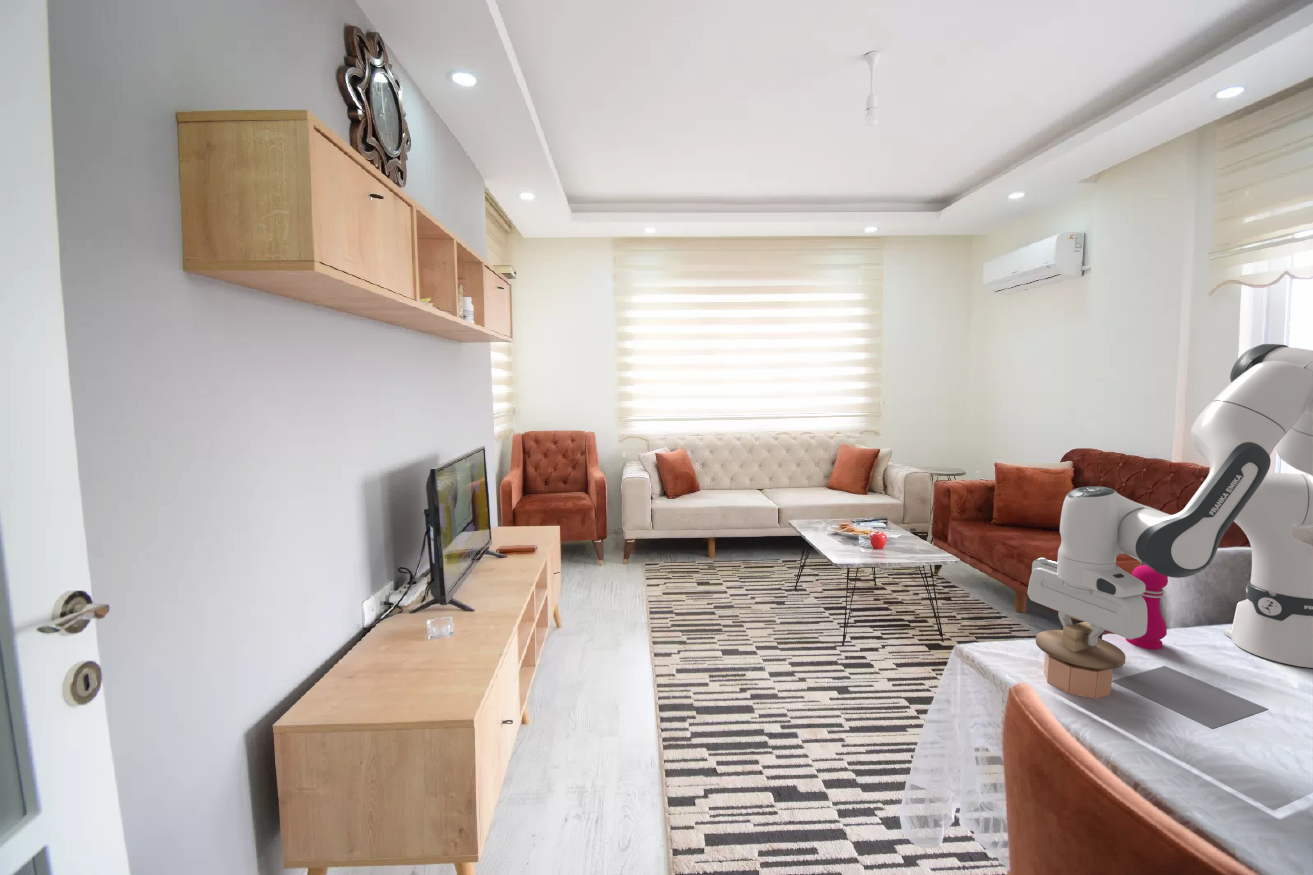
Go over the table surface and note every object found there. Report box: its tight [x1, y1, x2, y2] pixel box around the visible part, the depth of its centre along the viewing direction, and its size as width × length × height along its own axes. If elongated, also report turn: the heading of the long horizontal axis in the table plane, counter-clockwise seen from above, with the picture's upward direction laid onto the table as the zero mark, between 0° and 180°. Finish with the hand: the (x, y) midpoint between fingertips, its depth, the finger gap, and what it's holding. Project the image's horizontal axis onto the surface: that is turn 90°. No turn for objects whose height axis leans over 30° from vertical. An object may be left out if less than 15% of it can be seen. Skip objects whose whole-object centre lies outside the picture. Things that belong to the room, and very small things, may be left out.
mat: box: [1112, 665, 1269, 730], centre depth 108 cm, size 16×16×1 cm
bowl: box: [1043, 652, 1114, 700], centre depth 112 cm, size 10×10×6 cm
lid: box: [1035, 622, 1126, 669], centre depth 111 cm, size 14×14×5 cm
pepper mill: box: [1125, 564, 1169, 651], centre depth 127 cm, size 7×7×20 cm
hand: (1079, 640), depth 111 cm, fingers closed on lid, 2 cm apart
